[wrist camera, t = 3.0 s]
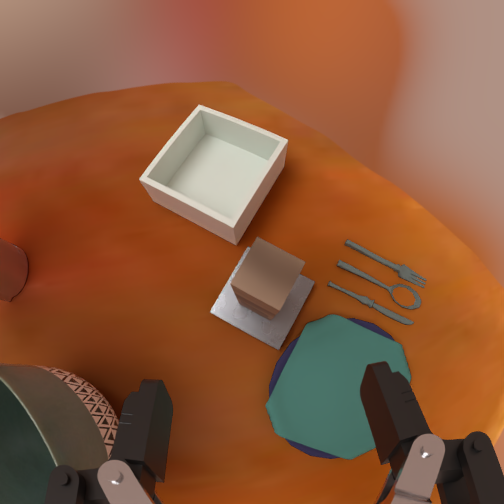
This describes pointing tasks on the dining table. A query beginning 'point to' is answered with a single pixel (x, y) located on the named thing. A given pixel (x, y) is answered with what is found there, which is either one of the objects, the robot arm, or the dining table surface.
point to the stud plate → (257, 324)
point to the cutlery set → (335, 375)
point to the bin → (216, 171)
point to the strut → (265, 278)
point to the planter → (48, 428)
